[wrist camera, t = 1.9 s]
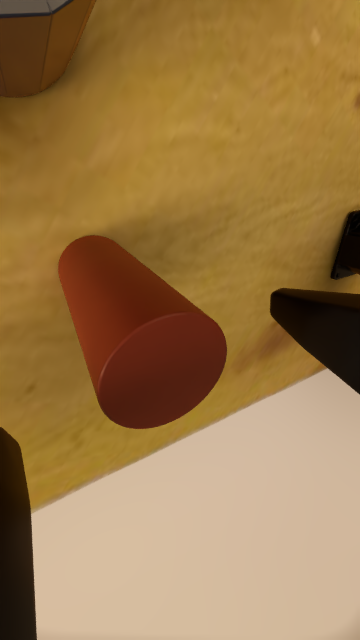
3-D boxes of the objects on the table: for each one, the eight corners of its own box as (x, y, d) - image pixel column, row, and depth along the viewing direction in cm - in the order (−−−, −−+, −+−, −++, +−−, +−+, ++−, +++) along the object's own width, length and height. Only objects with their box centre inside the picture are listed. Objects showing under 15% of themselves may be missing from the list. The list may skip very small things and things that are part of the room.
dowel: (124, 231, 15) (233, 296, 7) (132, 294, 17) (223, 398, 9) (48, 240, 13) (81, 339, 5) (68, 308, 15) (111, 450, 7)
